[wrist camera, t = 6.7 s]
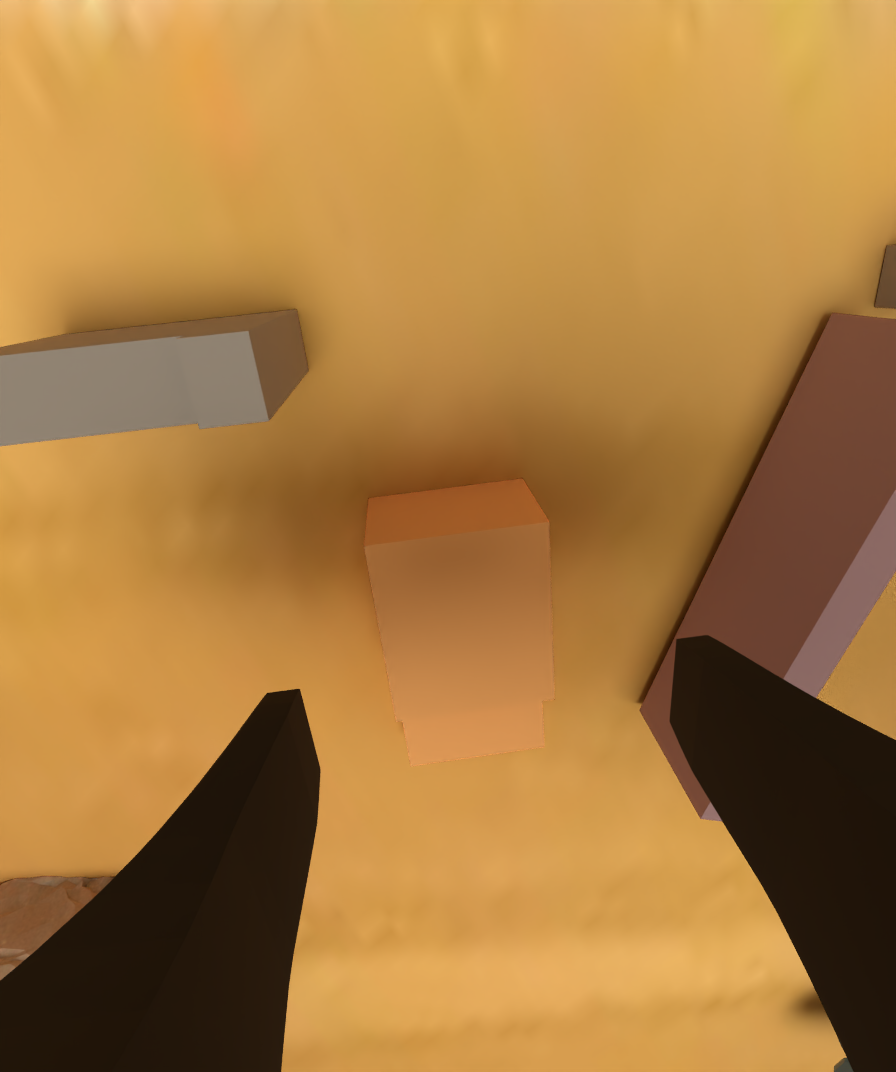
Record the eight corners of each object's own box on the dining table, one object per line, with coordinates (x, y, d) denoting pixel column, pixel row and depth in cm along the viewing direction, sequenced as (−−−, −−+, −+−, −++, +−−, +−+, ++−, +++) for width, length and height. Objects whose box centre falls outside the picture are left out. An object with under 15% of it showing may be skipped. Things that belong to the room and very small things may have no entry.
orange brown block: (520, 475, 17) (549, 521, 14) (532, 710, 21) (557, 788, 18) (369, 494, 17) (363, 546, 14) (408, 727, 21) (412, 809, 18)
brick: (-13, 873, 22) (-109, 1019, 18) (217, 861, 23) (177, 997, 19) (84, 1094, 29) (32, 1237, 25) (258, 1078, 30) (236, 1214, 26)
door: (832, 312, 15) (990, 328, 11) (900, 334, 16) (1076, 356, 12) (639, 710, 21) (700, 818, 17) (694, 718, 21) (767, 826, 17)
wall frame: (1069, 225, 15) (1395, 205, 10) (1049, 287, 16) (1347, 296, 11) (63, 334, 14) (-112, 369, 9) (85, 395, 15) (-68, 459, 10)
